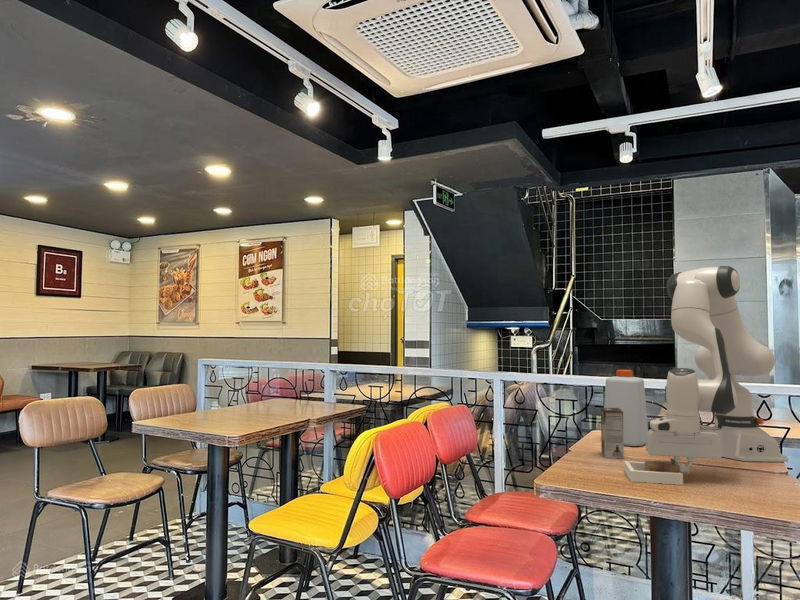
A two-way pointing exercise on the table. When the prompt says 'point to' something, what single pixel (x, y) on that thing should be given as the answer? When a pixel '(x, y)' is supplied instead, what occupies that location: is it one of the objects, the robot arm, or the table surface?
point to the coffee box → (612, 433)
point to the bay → (650, 474)
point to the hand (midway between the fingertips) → (683, 472)
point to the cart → (662, 466)
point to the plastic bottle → (628, 405)
